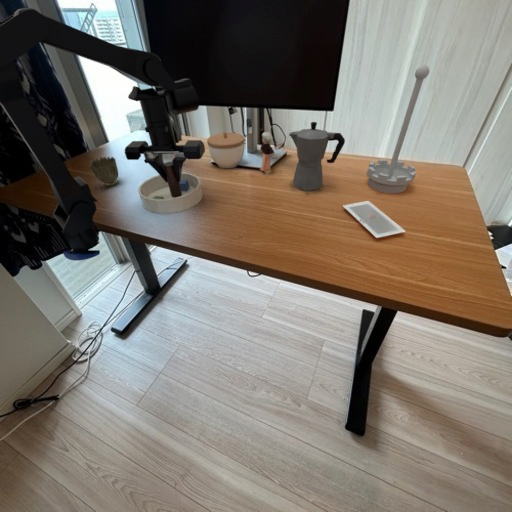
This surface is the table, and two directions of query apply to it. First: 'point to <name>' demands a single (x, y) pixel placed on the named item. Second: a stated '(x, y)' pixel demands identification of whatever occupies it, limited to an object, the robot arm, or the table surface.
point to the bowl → (169, 195)
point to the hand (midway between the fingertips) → (173, 181)
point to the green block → (158, 197)
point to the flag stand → (397, 152)
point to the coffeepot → (312, 155)
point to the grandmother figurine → (266, 152)
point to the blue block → (184, 185)
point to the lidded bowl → (226, 149)
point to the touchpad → (373, 219)
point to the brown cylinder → (172, 180)
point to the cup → (105, 170)
